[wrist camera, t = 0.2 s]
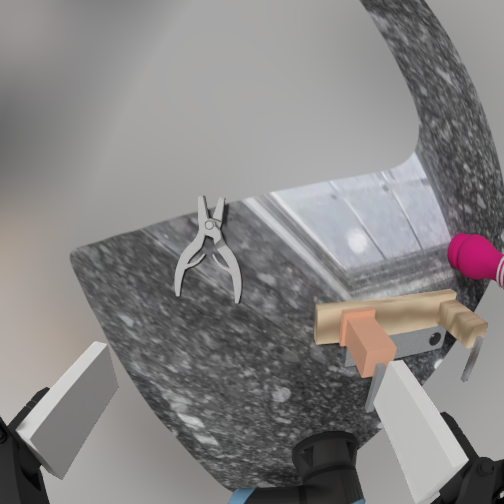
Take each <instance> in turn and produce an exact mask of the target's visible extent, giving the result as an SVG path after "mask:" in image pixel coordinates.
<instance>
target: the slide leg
mask: <svg viewBox="0 0 504 504" xmlns="http://www.w3.org/2000/svg"><path fill="white" fill-rule="evenodd" d="M375 313H376V310H375V308H374V307H366V308H357V309H347V310H342V315H341V326H340V336H339V344H340V346H347V348H348V350H349V352H350V354H351V356H352V358H353V360H354V362H355V364H356V366H357V368H358V371H359V373H360V375H361V377H362V378H365V377H370V376H373V378H372V382H371V386H370V390H369V394H368V397H367V401H366V405H365V410H366V413H368V412H372V411H373V410H374V407H375V406H374V404H373V402H374V400H375V397H376V395H377V393H378V390H379V388H380V385H381V383H382V380H383V377H384V374H385V372H386V369H387V367H388V364H389V362H390V361H394V357H395V353H396V349H397V347H396V345H395V344H394V343H393V341H392V340H391V339H390V337H389V336H388V335H387V334H386V332H385V331H384V330H383V328H382V327H381V326H380V325H379V323H378V322H377V321H376V319H375Z"/></svg>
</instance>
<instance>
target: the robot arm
mask: <svg viewBox="0 0 504 504" xmlns="http://www.w3.org/2000/svg"><path fill="white" fill-rule="evenodd" d="M118 388H119V386H118V382H117V379H116V375H115V372H114V368H113V364H112V361H111V356H110V352H109V348H108V344H104V343H100V342H96V341H95V342H94V343H93V344H92V345H91V346H90V347H89V348H88V349H87V350H86V351H85V352H84V353H83V354H82V355H81V356H80V357H79V358H78V360H77V361H76V362H75V363H74V364H73V365H72V366H71V367H70V368H69V369H68V370H67V371H66V372H65V373H64V375H63V376H62V377H61V378H60V379H59V380H58V381H57V382H56V383H55V384H54V386H53V387H52V388H51V389H50V388H48V387H46V388H44V389H42V390H40V391H38V392H37V393H36V394H35V395H34V397H33V398H32V399H31V401H29V402H28V403H27V404H26V406H24V408H23V409H22V410H21V411H20V412H19V413H18V414H17V416H16V417H15V418H14V419H13V420H12V421H11V422H10V424H9V425H8V426H6V424H5V423H4V421H3V420H2V418H1V417H0V504H50V503H49V500H48V496H47V493H46V489H45V485H44V481H43V476H42V473H41V471H40V469H39V468H40V466H41V465H42V466H44V468H45V469H46V470H47V471H48V472H49V473H51V474H52V475H54V476H56V477H58V478H59V479H61V480H63V477H64V476H65V474H66V473H67V471H68V469H69V467H70V466H71V464H72V462H73V460H74V459H75V457H76V455H77V454H78V452H79V450H80V449H81V447H82V445H83V444H84V442H85V440H86V438H87V437H88V435H89V434H90V432H91V430H92V428H93V427H94V425H95V424H96V422H97V421H98V419H99V418H100V416H101V414H102V413H103V411H104V409H105V408H106V406H107V405H108V403H109V402H110V400H111V398H112V397H113V395H114V394H115V392H116V391H117V389H118ZM373 404H374V406H375V408H376V411H377V413H378V415H379V417H380V419H381V422H382V424H383V426H384V428H385V431H386V433H387V435H388V438H389V440H390V442H391V445H392V447H393V449H394V451H395V454H396V456H397V458H398V461H399V463H400V466H401V468H402V471H403V473H404V476H405V478H406V481H407V483H408V486H409V488H410V491H411V494H412V496H413V499H414V502H415V504H416V503H419V502H422V501H424V500H427V499H429V498H431V497H432V496H433V495H434V494H436V493H437V492H438V491H439V492H440V496H439V497H438V498H436V499H435V500H434V501H433V502H432V503H431V504H504V497H502V498H500V493H502V492H503V491H504V459H503V460H499V461H493V460H491V459H490V458H487V457H479V456H478V455H477V454H476V452H475V450H474V449H473V447H472V446H471V444H470V442H469V441H468V439H467V438H466V436H465V435H464V434H463V432H462V430H461V429H460V428H459V427H458V424H457V423H456V421H455V420H454V418H453V417H451V416H450V415H449V414H447V413H446V412H443V413H439V412H438V410H437V409H436V407H435V406H434V404H433V403H432V401H431V400H430V398H429V397H428V395H427V394H426V392H425V391H424V390H423V388H422V387H421V385H420V384H419V382H418V381H417V380H416V378H415V377H414V375H413V374H412V373H411V371H410V370H409V368H408V367H407V366H406V364H405V363H404V362H403V360H399V361H390V362H389V364H388V367H387V369H386V372H385V375H384V377H383V380H382V383H381V385H380V388H379V390H378V393H377V395H376V397H375V400H374V402H373ZM356 455H357V443H356V440H355V437H354V436H353V435H352V434H350V433H347V432H343V431H331V432H324V433H320V434H316V435H313V436H311V437H308V438H306V439H304V440H303V441H301V442H300V443H298V444H297V445H296V446H295V447H294V449H293V451H292V461H293V464H294V466H295V467H296V469H297V471H298V473H299V474H300V476H301V478H302V481H303V485H301V486H290V487H269V488H259V487H255V488H241V489H238V490H236V491H235V492H234V493H233V494H232V496H231V498H230V500H229V502H228V504H365V499H364V496H363V493H362V489H361V485H360V482H359V479H358V475H357V472H356V468H355V465H356Z"/></svg>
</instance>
